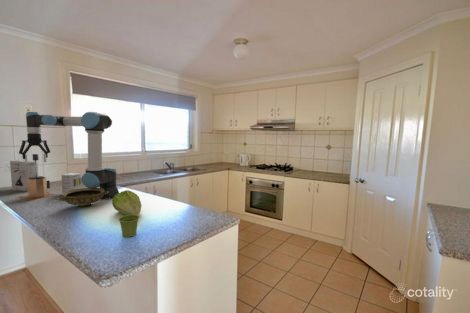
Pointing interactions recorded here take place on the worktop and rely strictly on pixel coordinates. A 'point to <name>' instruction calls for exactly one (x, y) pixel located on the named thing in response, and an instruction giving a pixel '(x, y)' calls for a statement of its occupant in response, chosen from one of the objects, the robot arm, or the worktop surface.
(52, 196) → the trivet
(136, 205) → the lettuce
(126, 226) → the plant pot
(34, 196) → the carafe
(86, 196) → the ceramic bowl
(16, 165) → the cereal box
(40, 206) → the worktop surface
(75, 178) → the supplement box
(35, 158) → the plunger
